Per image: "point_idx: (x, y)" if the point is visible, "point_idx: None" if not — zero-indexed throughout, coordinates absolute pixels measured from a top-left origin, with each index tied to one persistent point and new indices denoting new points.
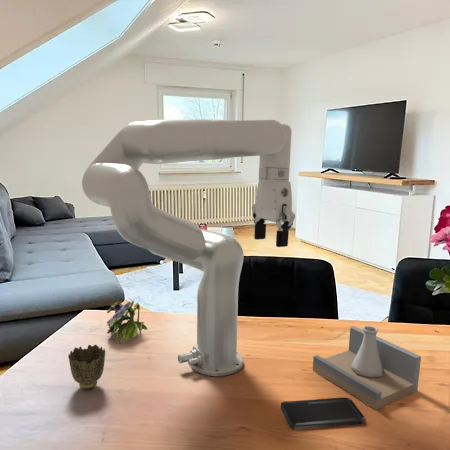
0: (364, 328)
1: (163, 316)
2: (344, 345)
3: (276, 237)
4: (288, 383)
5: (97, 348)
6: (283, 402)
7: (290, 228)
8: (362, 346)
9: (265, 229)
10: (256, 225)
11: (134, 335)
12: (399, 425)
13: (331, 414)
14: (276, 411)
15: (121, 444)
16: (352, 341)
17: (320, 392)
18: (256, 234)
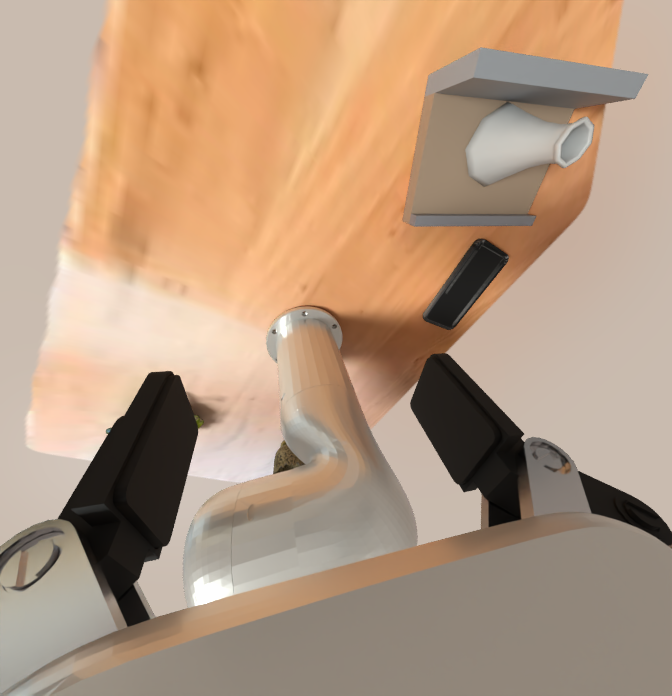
0: (560, 157)
1: (69, 355)
2: (384, 20)
3: (437, 448)
4: (400, 281)
5: (279, 467)
6: (426, 316)
7: (567, 455)
8: (523, 165)
9: (149, 443)
10: (158, 545)
11: (195, 416)
12: (541, 222)
13: (474, 283)
14: (424, 325)
15: (372, 426)
16: (459, 87)
17: (441, 257)
18: (189, 460)
